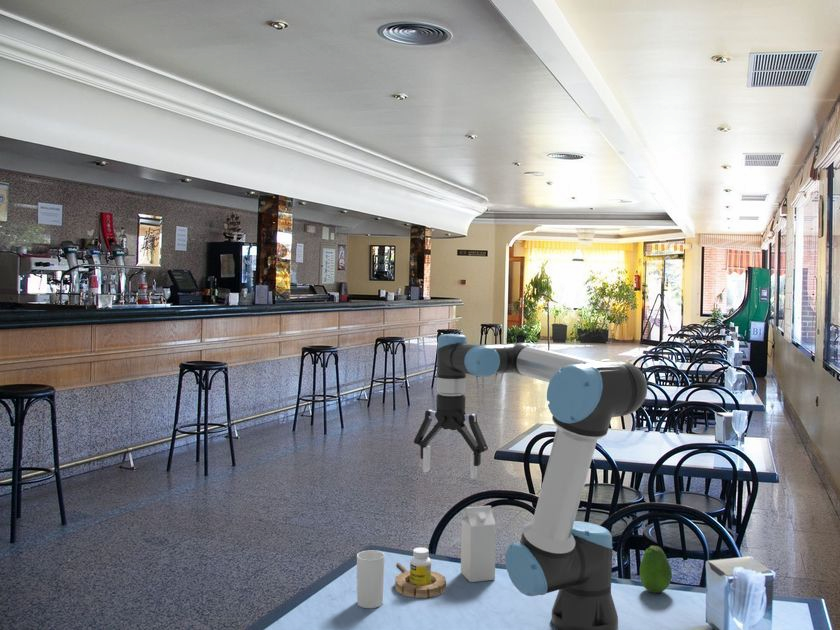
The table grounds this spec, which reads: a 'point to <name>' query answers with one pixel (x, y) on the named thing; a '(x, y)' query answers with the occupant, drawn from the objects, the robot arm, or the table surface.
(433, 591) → the bead ring
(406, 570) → the brown wooden stick
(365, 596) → the mug
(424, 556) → the supplement bottle
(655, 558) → the fruit
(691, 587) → the table surface
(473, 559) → the milk carton
